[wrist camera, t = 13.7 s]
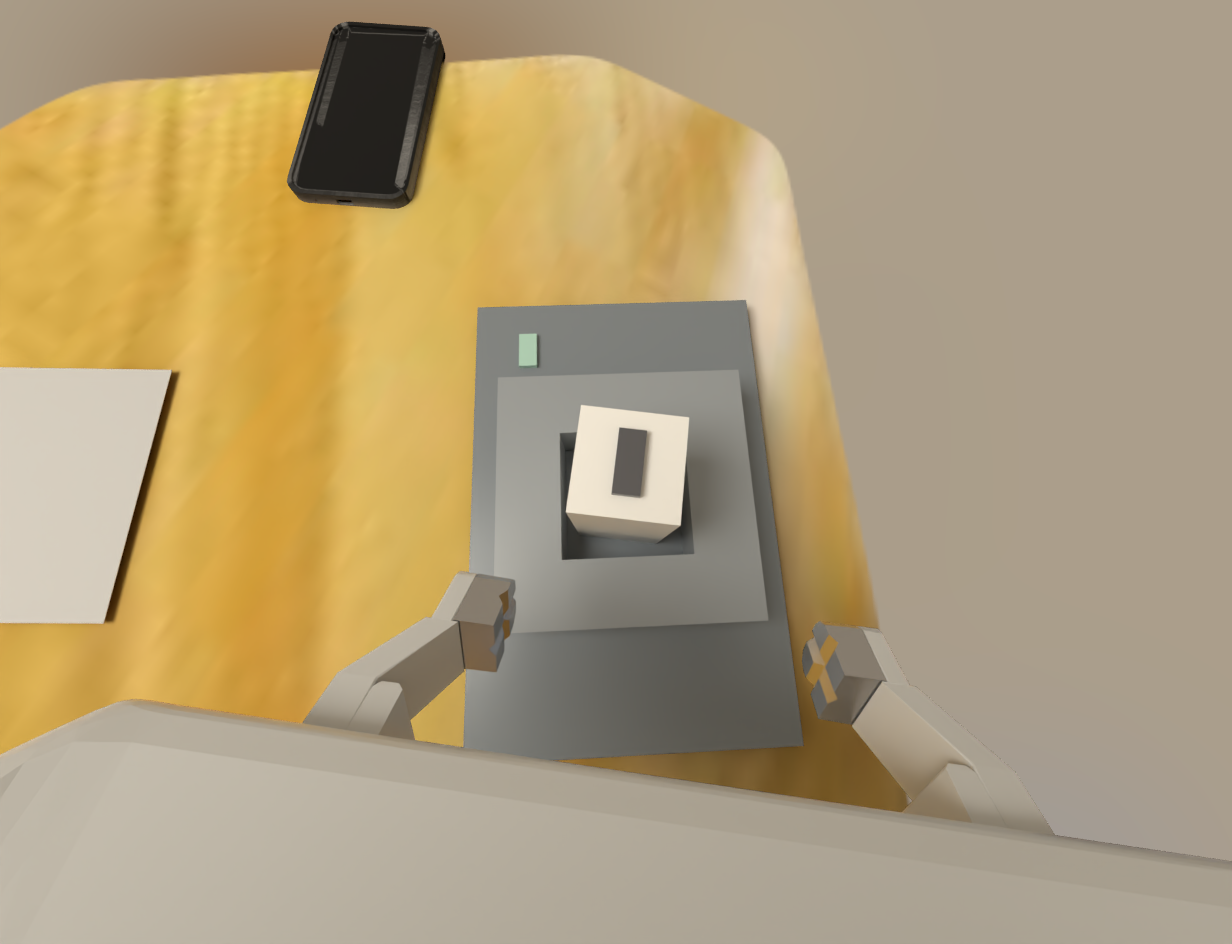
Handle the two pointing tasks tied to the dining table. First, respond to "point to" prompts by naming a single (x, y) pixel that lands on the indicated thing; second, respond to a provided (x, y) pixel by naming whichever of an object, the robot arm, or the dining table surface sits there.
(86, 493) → the paper stack
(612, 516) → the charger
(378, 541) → the dining table surface
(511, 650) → the power dock
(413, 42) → the phone
